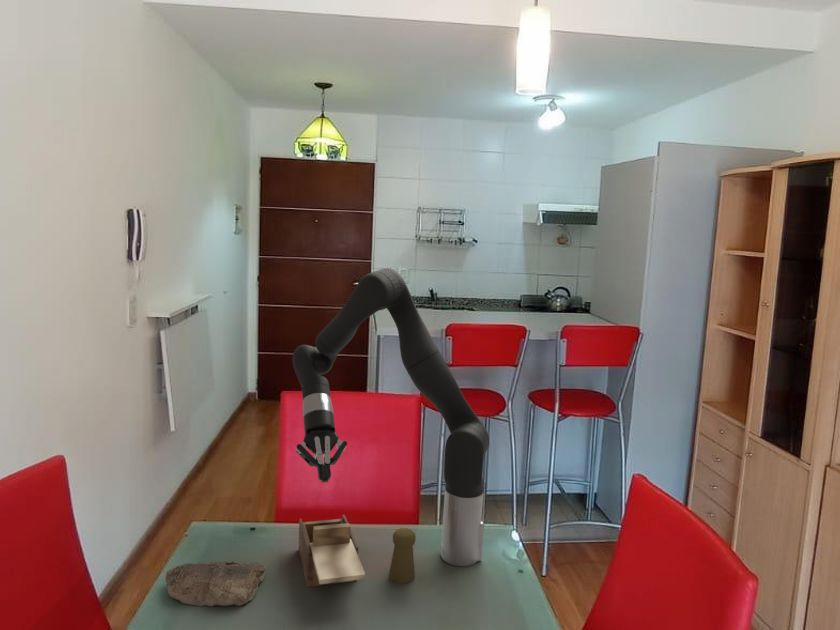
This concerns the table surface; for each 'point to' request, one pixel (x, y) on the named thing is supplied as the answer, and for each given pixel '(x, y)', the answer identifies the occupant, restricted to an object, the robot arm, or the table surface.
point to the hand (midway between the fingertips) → (325, 481)
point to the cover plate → (335, 554)
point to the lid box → (305, 552)
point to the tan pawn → (402, 556)
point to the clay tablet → (215, 583)
